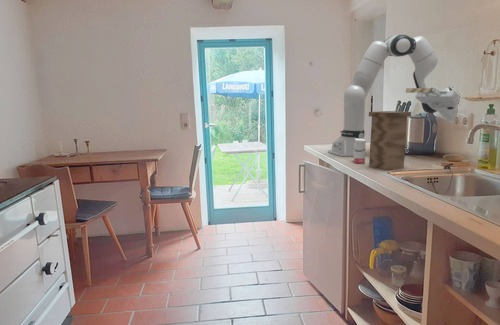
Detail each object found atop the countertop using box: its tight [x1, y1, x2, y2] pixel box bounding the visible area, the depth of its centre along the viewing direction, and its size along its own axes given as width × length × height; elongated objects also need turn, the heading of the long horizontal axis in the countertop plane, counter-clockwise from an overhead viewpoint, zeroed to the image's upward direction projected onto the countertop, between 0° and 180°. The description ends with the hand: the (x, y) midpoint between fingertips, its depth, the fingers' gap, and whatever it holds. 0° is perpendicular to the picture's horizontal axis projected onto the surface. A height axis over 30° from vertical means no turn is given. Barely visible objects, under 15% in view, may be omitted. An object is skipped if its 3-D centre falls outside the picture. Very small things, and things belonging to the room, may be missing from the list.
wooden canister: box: [368, 110, 412, 171], centre depth 164 cm, size 12×14×26 cm
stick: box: [405, 87, 432, 94], centre depth 172 cm, size 20×2×2 cm, turn 120°
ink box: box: [353, 138, 367, 164], centre depth 178 cm, size 9×5×12 cm, turn 168°
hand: (428, 89), depth 175 cm, fingers closed on stick, 2 cm apart
